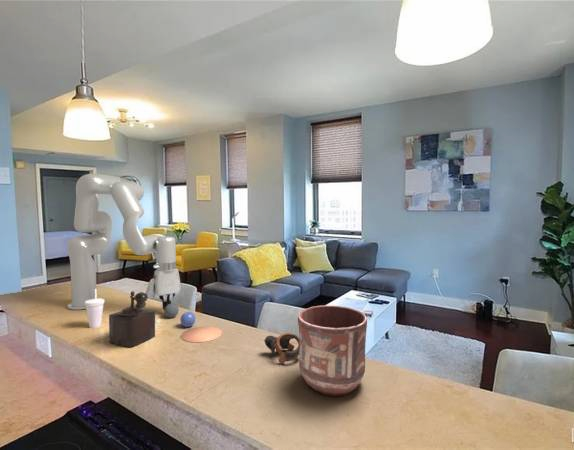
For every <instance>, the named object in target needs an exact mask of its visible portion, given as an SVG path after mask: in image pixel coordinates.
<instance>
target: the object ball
mask: <svg viewBox="0 0 574 450" xmlns="http://www.w3.org/2000/svg"><path fill="white" fill-rule="evenodd" d="M179 320H180V324H181V326H183V327H184V328H190V327H192V326H193V325H195V323H196V320H197V319H196V314H195V313H193V312H191V311H185V312H184V313H182V314H181V317H180V319H179Z"/></svg>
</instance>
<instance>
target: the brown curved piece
mask: <svg viewBox="0 0 574 450" xmlns="http://www.w3.org/2000/svg"><path fill="white" fill-rule="evenodd" d="M293 339H294V340H295V341H296V342H297V344H298V346H297V348H296V349H295V347H296V346H295V345H294V344H292V343H290V341H291V340H293ZM263 341H264V342H263V343H264V344H265V346H266V347H267V348H268V349H269V350H270V352H271V354H274V352H276V353H277V354H278V355H279V358H278V363H280V364H282V365H284V364H285V363H287V362H290V361H291V362H292V361H293V360H296V359H297V358H299V352H300V340H299V336H297V335H296V334H294V333H290V332H285V333H281V334H280V335H279V336H278V337H277V336H276V337H275V336H274V335H267V336H266V337H265V338H264V340H263ZM284 350H285V352H283V351H284Z"/></svg>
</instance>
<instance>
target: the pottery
mask: <svg viewBox="0 0 574 450" xmlns="http://www.w3.org/2000/svg"><path fill="white" fill-rule="evenodd" d="M297 325H298V326H297V327H298V333H299V335H298V337H299V340H300V352H299V355H298V365H299V371H300V373H301V376H302V377H303V379H304V380H305V383H306V384H307V385H308V386H309V387H310V388H311V389H312V390H314V391H315V392H317V393H320V394H322V395H324V396H325V395H326V396H330V397H331V396H333V397H339V396H340V397H341V396H345V395H348V394H350V393H351V392H352V391H354V390H355V389H356V388H357V387H359V384H360V383H361V381H362V380H363V377H364V375H365V372H366V343H367V342H366V341H367V340H366V339H367V328H368V317H367V315H366V314H365V313H364V312H362V311H360V310H358V309H355V308H352V307H348V306H342V305H334V304H333V305H329V304H327V305H324V304H323V305H316V306H311V307H308V308H305V309H303V310H301V311H299V312H298V315H297Z"/></svg>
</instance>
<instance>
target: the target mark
mask: <svg viewBox="0 0 574 450" xmlns="http://www.w3.org/2000/svg"><path fill="white" fill-rule="evenodd" d="M222 334H223V331H222V330H221V329H220V328H217V327H215V326H196V327H193V328H189V329H185V330H184V331H183V332H182V333H181V335H180V338H181V339H182V341H184V342H187V343H194V342H200V343H206V342H212V341H214V340H216V339H218V338H220V337H221V335H222Z"/></svg>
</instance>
